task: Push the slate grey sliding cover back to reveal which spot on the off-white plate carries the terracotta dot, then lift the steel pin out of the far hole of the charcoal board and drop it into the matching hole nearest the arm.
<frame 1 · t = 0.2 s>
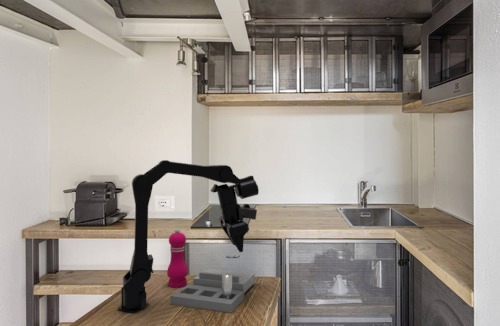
hand: (238, 248, 119), 15 cm above the worktop, tool pointing down, fingers open, 9 cm apart
hole board: (208, 301, 112), on the worktop
pepper mill: (177, 285, 127), on the worktop
pin: (227, 304, 110), resting in hole board
cover: (224, 277, 124), point 3 cm above the worktop, slide at 0.0 cm
layout plate: (224, 287, 124), on the worktop
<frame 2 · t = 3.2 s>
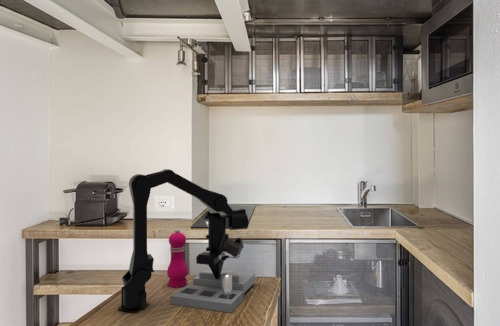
hand: (217, 278, 118), 5 cm above the worktop, tool pointing down, fingers closed
cover: (224, 277, 124), point 3 cm above the worktop, slide at 0.0 cm, touching gripper
everything else where it was.
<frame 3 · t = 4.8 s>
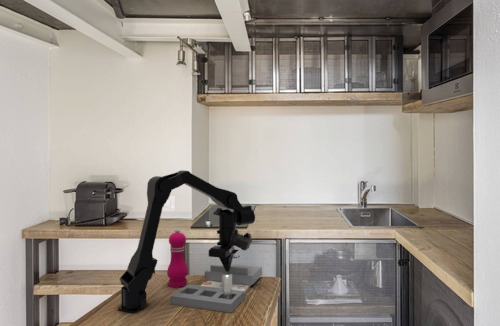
hand: (227, 271, 126), 5 cm above the worktop, tool pointing down, fingers closed
cover: (233, 270, 132), point 3 cm above the worktop, slide at 8.7 cm, touching gripper
everything else where it was.
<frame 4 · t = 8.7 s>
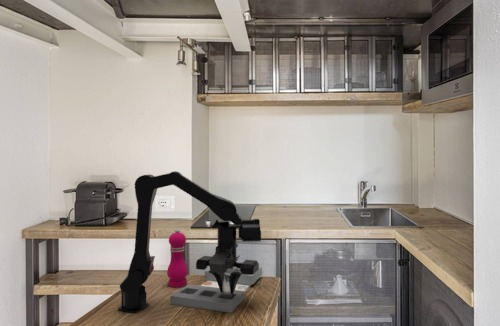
hand: (227, 292, 110), 3 cm above the worktop, tool pointing down, fingers closed on pin, 3 cm apart
pin: (227, 304, 110), resting in hole board, touching gripper
cover: (233, 270, 132), point 3 cm above the worktop, slide at 8.7 cm
everything else where it was.
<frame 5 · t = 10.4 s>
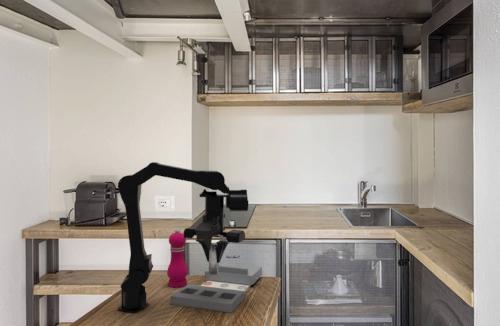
hand: (213, 262, 111), 13 cm above the worktop, tool pointing down, fingers closed on pin, 3 cm apart
pin: (213, 273, 111), point 9 cm above the worktop, touching gripper
everything else where it was.
when the fingers open (5 cm above the worktop, at t = 12.6 s): pin drops 2 cm, resting in hole board.
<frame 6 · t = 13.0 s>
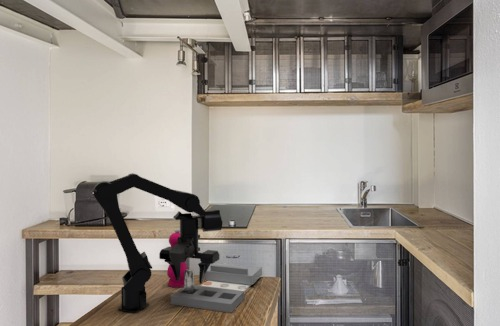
hand: (189, 281, 114), 5 cm above the worktop, tool pointing down, fingers open, 8 cm apart
pin: (189, 298, 114), resting in hole board
everything else where it was.
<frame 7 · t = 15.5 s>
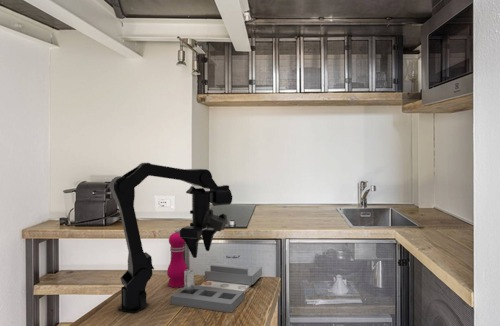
hand: (201, 254, 118), 13 cm above the worktop, tool pointing down, fingers open, 9 cm apart
nothing on the worktop moved.
at the end: cover slide at 8.7 cm; pin 0.0 cm from the target spot on the hole board, point 0.0 cm above the hole board's base; pin tilted 0° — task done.
